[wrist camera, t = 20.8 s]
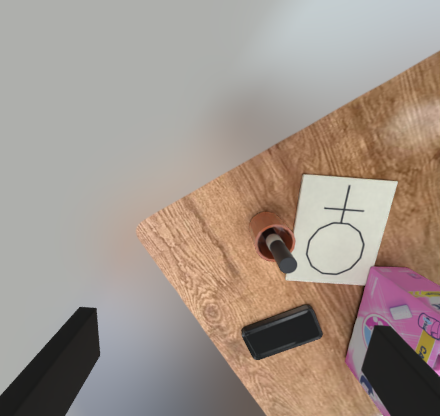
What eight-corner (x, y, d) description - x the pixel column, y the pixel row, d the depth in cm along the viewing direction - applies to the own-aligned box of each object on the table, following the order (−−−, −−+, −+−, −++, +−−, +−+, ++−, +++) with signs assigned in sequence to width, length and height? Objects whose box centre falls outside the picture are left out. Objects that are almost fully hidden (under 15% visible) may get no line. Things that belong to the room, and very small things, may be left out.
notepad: (302, 173, 37) (304, 174, 36) (395, 181, 37) (398, 181, 37) (284, 278, 42) (285, 280, 41) (366, 284, 42) (369, 286, 42)
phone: (240, 333, 44) (312, 307, 42) (239, 328, 45) (309, 303, 43) (254, 361, 45) (324, 337, 44) (254, 356, 47) (321, 333, 45)
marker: (260, 222, 39) (280, 256, 26) (273, 223, 39) (299, 257, 26) (258, 234, 39) (277, 273, 27) (271, 235, 39) (296, 274, 27)
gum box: (376, 365, 47) (443, 447, 34) (341, 366, 47) (397, 451, 34) (407, 266, 41) (504, 319, 28) (369, 265, 41) (449, 320, 28)
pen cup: (250, 210, 39) (257, 222, 32) (284, 212, 39) (298, 225, 32) (247, 241, 40) (252, 260, 33) (279, 244, 40) (291, 262, 33)
